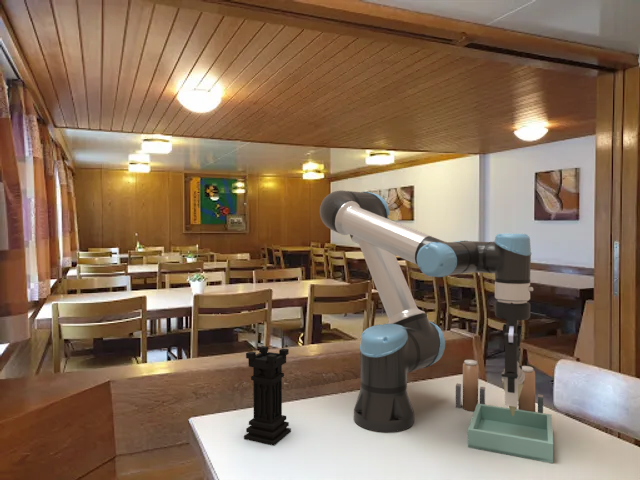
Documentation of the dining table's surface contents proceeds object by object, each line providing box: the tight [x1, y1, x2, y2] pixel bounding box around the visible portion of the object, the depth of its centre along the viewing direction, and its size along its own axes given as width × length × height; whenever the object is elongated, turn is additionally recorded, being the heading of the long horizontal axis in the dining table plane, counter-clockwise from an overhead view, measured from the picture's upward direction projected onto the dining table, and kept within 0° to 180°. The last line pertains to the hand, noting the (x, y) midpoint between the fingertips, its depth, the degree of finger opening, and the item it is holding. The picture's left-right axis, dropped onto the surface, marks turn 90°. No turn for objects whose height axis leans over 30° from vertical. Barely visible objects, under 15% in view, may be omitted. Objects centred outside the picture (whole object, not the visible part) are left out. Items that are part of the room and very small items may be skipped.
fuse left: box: [462, 359, 479, 412], centre depth 127 cm, size 4×4×13 cm
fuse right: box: [517, 365, 536, 412], centre depth 121 cm, size 4×4×13 cm
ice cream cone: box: [500, 361, 525, 416], centre depth 108 cm, size 5×5×15 cm
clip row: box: [455, 382, 544, 413], centre depth 124 cm, size 21×2×6 cm, turn 65°
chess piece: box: [243, 345, 292, 447], centre depth 111 cm, size 8×8×20 cm
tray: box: [467, 402, 554, 464], centre depth 109 cm, size 17×17×4 cm
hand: (511, 401), depth 109 cm, fingers closed on ice cream cone, 5 cm apart
